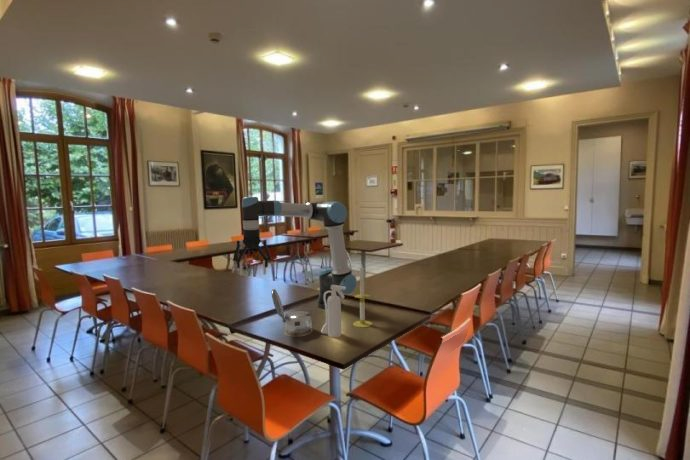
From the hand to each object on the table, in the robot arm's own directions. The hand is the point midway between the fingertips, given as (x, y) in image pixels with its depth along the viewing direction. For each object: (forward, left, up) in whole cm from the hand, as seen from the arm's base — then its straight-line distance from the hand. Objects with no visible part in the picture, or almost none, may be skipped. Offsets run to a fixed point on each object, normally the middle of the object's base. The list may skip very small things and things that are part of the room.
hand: (253, 274), depth 175 cm
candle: (-54, -7, -30) cm, 62 cm away
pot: (-21, 0, -29) cm, 36 cm away
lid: (-12, 0, -15) cm, 19 cm away
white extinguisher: (-38, +7, -30) cm, 49 cm away
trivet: (-21, 0, -30) cm, 37 cm away
